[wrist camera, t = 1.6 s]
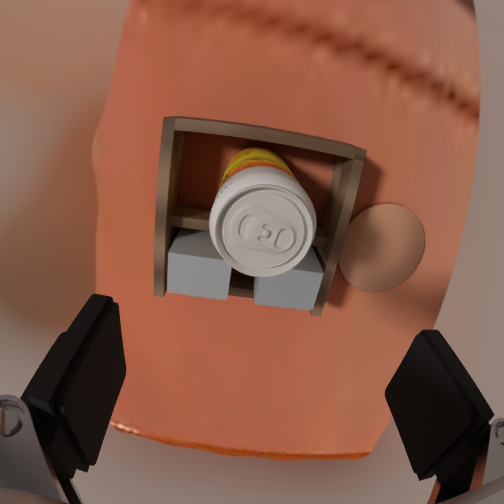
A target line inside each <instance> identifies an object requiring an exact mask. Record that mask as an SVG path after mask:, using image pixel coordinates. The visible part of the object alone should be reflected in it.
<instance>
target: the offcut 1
mask: <svg viewBox="0 0 504 504" xmlns="http://www.w3.org/2000/svg"><path fill="white" fill-rule="evenodd" d="M231 268H232V267H231V266H230V265H229V264H228V263H227V262H226V261H225V260H224V259H223V257H222V256H221V255H220V254H219V252H218V251H217V250H216V248H215V246H214V244H213V242H212V239H211V235H210V231H204V230H197V229H189V228H182V227H181V229H180V231H179V233H178V235H177V237H176V238H175V240H174V242H173V244H172V246H171V248H170V250H169V252H168V274H167V292H171V293H178V294H184V295H191V296H198V297H205V298H212V299H220V300H227V297H228V289H229V282H230V275H231Z"/></svg>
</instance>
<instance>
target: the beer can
mask: <svg viewBox="0 0 504 504" xmlns="http://www.w3.org/2000/svg"><path fill="white" fill-rule="evenodd" d="M209 230H210V235H211V239H212V242H213V244H214V246H215V248H216V250H217V251H218V252H219V254H220V255H221V256H222V257H223V259H224V260H225V261H226V262H227V263H228V264H229V265H230V266H231V267H233V268H234V269H236V270H237V271H239V272H241V273H244V274H246V275H250V276H254V277H272V276H276V275H280V274H283V273H285V272H287V271H289V270H290V269H292V268H293V267H295V266H296V265H297V264H298V263H299V262H300V261H301V260H302V259H303V258H304V257H305V255H306V254H307V252H308V250H309V248H310V246H311V244H312V242H313V239H314V236H315V232H316V214H315V209H314V207H313V204H312V202H311V200H310V198H309V197H308V195H307V194H306V192H305V191H304V189H303V188H302V186H301V185H300V184H299V182H298V181H297V179H296V178H295V176H294V175H293V174H292V172H291V171H290V169H289V168H288V166H287V165H286V164H285V162H284V161H283V160H282V158H281V157H280V156H279V155H278V154H277V153H275V152H274V151H272V150H270V149H267V148H263V147H251V148H247V149H244V150H242V151H240V152H239V153H237V154H236V155H235V156H234V157H233V158H232V159H231V160H230V162H229V164H228V166H227V168H226V171H225V174H224V176H223V179H222V182H221V184H220V187H219V190H218V193H217V195H216V198H215V201H214V204H213V207H212V209H211V213H210V219H209Z"/></svg>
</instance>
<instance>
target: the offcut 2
mask: <svg viewBox="0 0 504 504" xmlns="http://www.w3.org/2000/svg"><path fill="white" fill-rule="evenodd" d="M323 274H324V273H323V270H322V268H321V266H320V263H319V261H318V259H317V256H316V254H315V252H314V250H313V247H312V246H310V248H309V250H308V252H307V254H306V255H305V257H304V258H303V259H302V260H301V261H300V262H299V263H298V264H297V265H296V266H295V267H293V268H292V269H290V270H289V271H287V272H285V273H283V274H280V275H276V276H272V277H254V276H253V278H254V304H260V305H268V306H277V307H286V308H296V309H305V310H313V307H314V304H315V301H316V298H317V294H318V291H319V288H320V284H321V281H322V278H323Z"/></svg>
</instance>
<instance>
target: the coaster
mask: <svg viewBox="0 0 504 504" xmlns="http://www.w3.org/2000/svg"><path fill="white" fill-rule="evenodd" d="M424 244H425V236H424V230H423V227H422V224H421V223H420V221H419V219H418V218H417V216H416V215H415V214H414V213H413V212H411V211H410V210H409V209H407V208H406V207H404V206H402V205H399V204H396V203H379V204H375V205H372V206H370V207H368V208H366V209H364V210H362V211H361V212H360V213H358V214H357V215H356V216H355V217H354V218H353V219H352V220H351V221H350V222H349V225H348V229H347V232H346V236H345V239H344V243H343V246H342V250H341V253H340V257H339V260H338V263H339V267H340V270H341V272H342V273H343V275H344V277H345V278H346V280H347V281H348V282H349V283H350V284H351V285H352V286H354V287H355V288H357V289H359V290H362V291H366V292H381V291H386V290H389V289H392V288H394V287H396V286H398V285H399V284H401V283H402V282H403V281H405V280H406V279H407V278H408V277H409V276H410V275H411V274H412V273H413V272H414V270H415V269H416V267H417V266H418V264H419V262H420V260H421V257H422V254H423V251H424Z"/></svg>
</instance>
